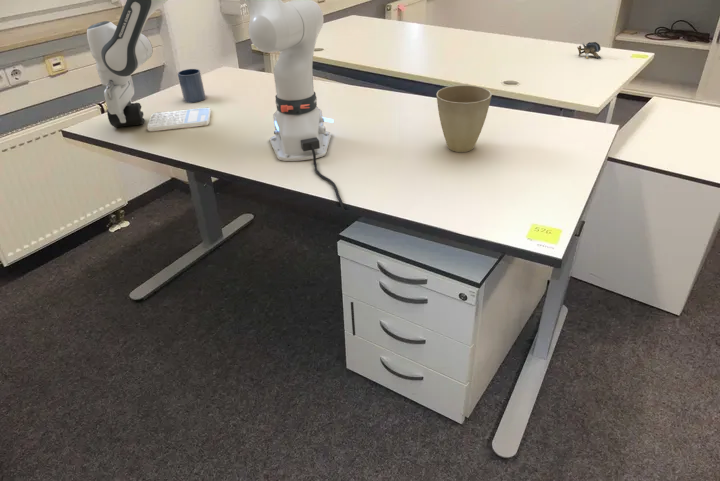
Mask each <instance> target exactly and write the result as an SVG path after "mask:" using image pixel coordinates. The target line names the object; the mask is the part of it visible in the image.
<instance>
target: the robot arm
mask: <svg viewBox="0 0 720 481" xmlns="http://www.w3.org/2000/svg"><path fill="white" fill-rule="evenodd" d="M166 2H168V0H126V2H125V3H124V6H123V9H122V12H121V15H120V17H119V20H118V22H117V25H116V24H114V23H113V22H112V21H109V20H104V21H100V22H97V23H94V24H92V25H90V26H89V27H87V30H86V38H87V43H88V46H89V50H90V53H91V56H92V58H93V59H94V61H95V68H96V72H97V74H98V78H99V81H100V83H101V85H103V86H105V87H106V88H105V89H104V91H103V96H104V99H105V104H106V108H107V109H108V111H109V113H110V114H116V115H117V116H118V118H119V119H120V122H121V123H126V121H127V119H126V116H125V115H124V113H123V112H124V111H123V110H124V108H125V107H126V106H129V105H130V104H131V103H132V98H133V96H134V95H135V86H134V81H133V77H132V74H134V72H135V71H136V70H137V69H139V68H140V67H141V66H143V65H144V64H145V63H146V62H147V61H149V59H151V57H152V55H153V45H152V42H151V41H150V39H149V38H148V37H147V36H146V35H145V34H144V33H142V32H143V31H144V28H145V25H146V23H147V21H148V19H149V18H150V17H151V16H152V15H153V13H155V12H156V11H157V10H158V9H159V8H160V7H162V6H163V5H164V4H165V3H166ZM244 3H245V5H246V7H247V10H248V13H249V14H248V15H249V21H248V26H247V30H248V31H247V32H248V37H249V39H250V42H251V43H252V45H253V46H254V47H255V48H256V49H257V50H258V51H260V52H262V53H268V54H269V53H279V55H278V58H277V60H276V62H275V64H274V66H273V79H274V87H275V93H276V94H275V96H274V97H275V105H276V106H275V107H276V111H275V112H274V113H273V114H272V116H273V117H272V118H273V125H274V130H273V134H274V135H272V136H271V137H269V143H270V145H271V147H272V149H273V151H274V153H275V156H276V158H277V159H278V160H279V161H284V162H299V161H308V160H312V161H313V166H314V171H315V173H316V174H317V176H319V177H320V178H322V179H323V180H325V181H326V182H328V183H329V184H330V185H331V186H332V187H333V189H334V192H335V195H336V198H337V200H338V202H339V206H340V211H341V213H344V212H346V211H345V205H344V202H343V200H342V198H341V196H340V192H339V189H338V187H337V186H336V184H335V182H334V181H333V180H331V179H330V178H328V176H325V175H323V174H322V173H321V172H320V171H319V169H318V167H317V166H318V165H317V164H318V163H317V159H319V158H323V157H325V156H326V155H327V152H328V149H329V145H330V141H331V138H332V135H331V132H330V131H326V126H325V125H324V123H325V122H326V123H331V124H333V123H334V119H333V118H328V117H324V116H323V109H321V108H319V107H318V106H317V105H318V103H317V100H318V99H317V95H316V92H315V88H314V87H315V86H314V74H313V65H314V64H313V63H314V54H315V49H316V43H317V40H318V36H319V34H320V32H321V30H322V29H323V26H324V20H325V19H324V14H323V10H322V8H321V6H320V5H319V4H318V3H317V2H316V1H315V0H288V1H286V2H284V1H283V0H244ZM354 307H355V306H354V301H350V315H351V327H352V328H351V329H352V336H356V323H355V308H354Z"/></svg>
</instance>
